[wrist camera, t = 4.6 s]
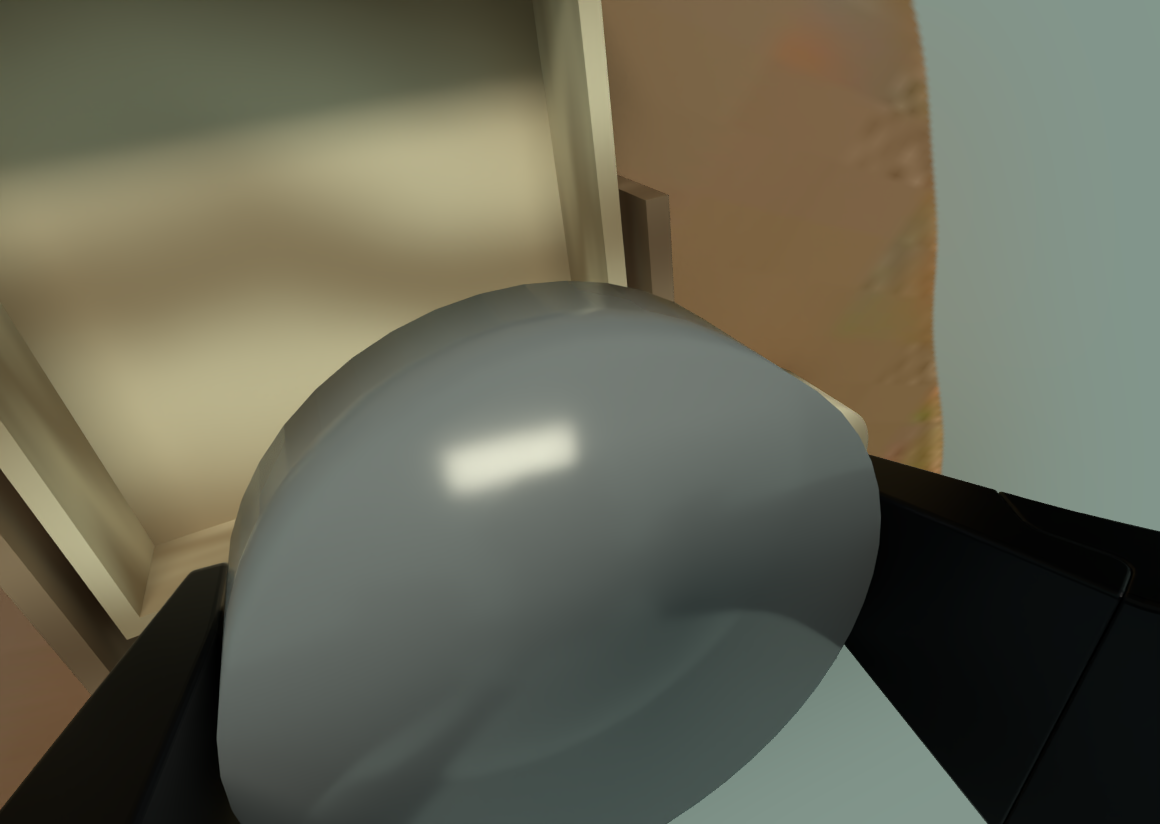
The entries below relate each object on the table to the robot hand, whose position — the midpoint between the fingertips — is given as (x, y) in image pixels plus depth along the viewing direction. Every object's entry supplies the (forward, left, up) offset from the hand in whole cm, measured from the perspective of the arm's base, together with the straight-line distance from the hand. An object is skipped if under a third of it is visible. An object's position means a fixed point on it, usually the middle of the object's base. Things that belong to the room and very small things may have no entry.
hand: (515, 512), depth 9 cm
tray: (+1, +2, -11) cm, 11 cm away
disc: (0, 0, +1) cm, 1 cm away
